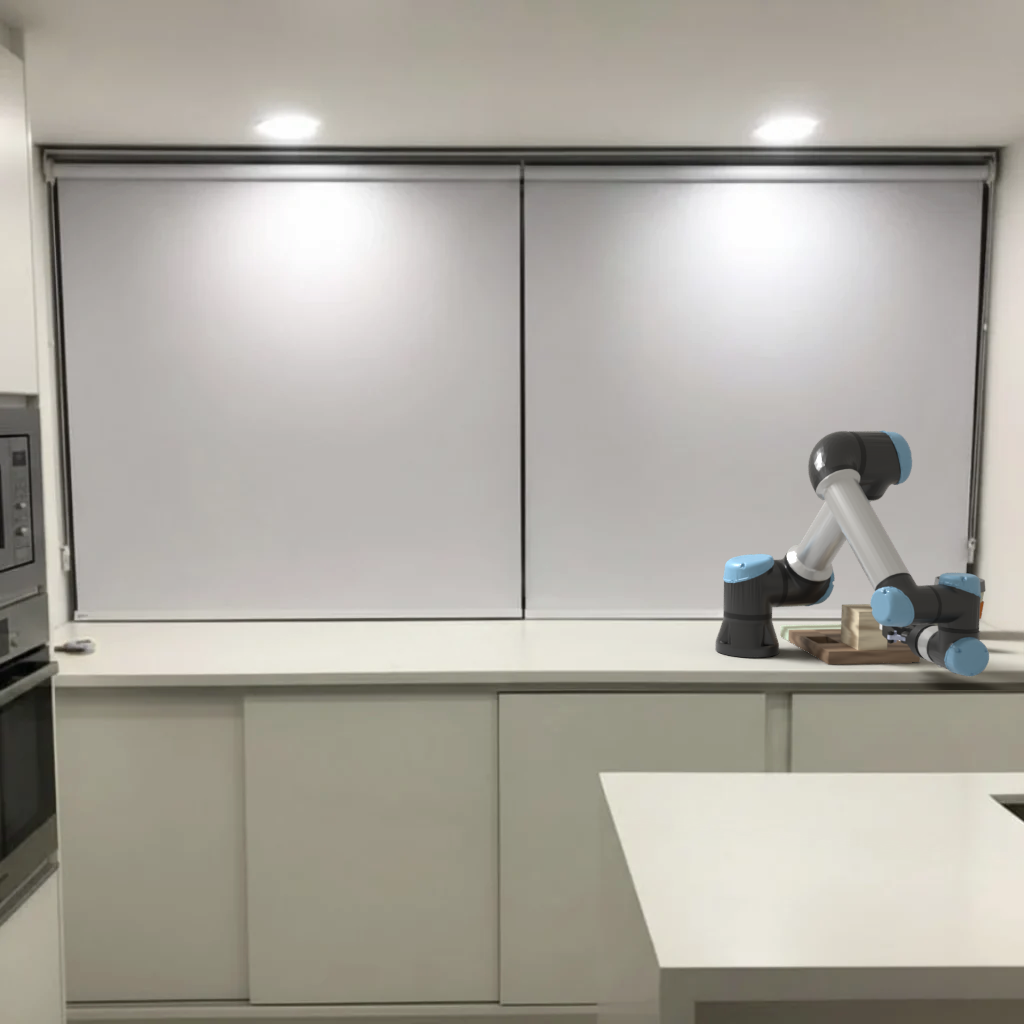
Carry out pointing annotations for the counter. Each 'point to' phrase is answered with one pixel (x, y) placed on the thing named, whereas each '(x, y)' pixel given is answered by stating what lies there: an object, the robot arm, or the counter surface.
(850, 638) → the block
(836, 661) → the board
